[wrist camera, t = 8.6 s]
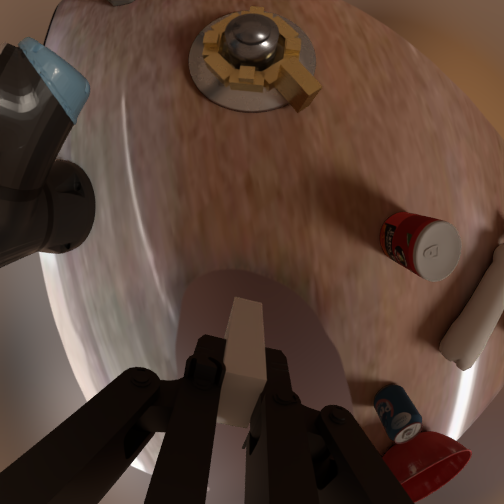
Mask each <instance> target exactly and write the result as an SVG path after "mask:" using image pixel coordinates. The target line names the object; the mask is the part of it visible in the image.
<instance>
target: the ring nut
mask: <svg viewBox="0 0 504 504" xmlns="http://www.w3.org/2000/svg"><path fill="white" fill-rule="evenodd" d="M250 13H254V14H261V15H264V16H267V17H269V18H270V19H272V20H273V21H274V22H275V23H276V25H277V26H278V29H279V38H278V43H279V44H280V45H281V46H282V47H283V56H282V60H280V61H278V62H277V63H275V64H273V65H272V66H270V67H269V68H267V69H265V70H264V71H262V72H261V71H255V67H251V66H240V70H239V69H234V68H233V67H232V66H231V65H230V64H229V63H228V62H227V61H226V60H225V59H224V58H223V57H222V50H223V45H224V42H226V38H225V29H226V26H227V25H228V23H229V22H230V21H231V20H232V19H234V18H236V17H237V16H240V15H239V14H238V13H237V12H235V13H233V14H232V15H230V16H228V17H226V18H224V19H223V20H221V21H219V22H218V23H216V24H214V25H213V26H211V29H212V30H208V31H207V32H205V35H204V39H203V45H204V49H203V54H202V56H203V58H204V62H205V64H206V67H207V68H208V69H209V70H210V72H211V73H212V74H213V75H214V76H215V77H216V78H217V79H218V80H219V81H220V82H221V83H222V84H223V85H224V86H225V87H227V86H229V85H230V89H231V90H239V91H250V92H260V93H263V87H265V88H266V90H267V91H270V90H271V89H273V88H276V89H277V90H278V91H279V92H280V93H281V94H282V95H283V97H284V98H285V99H286V100H287V101H288V102H289V103H290V105H291V106H292V107H293V108H294V109H295V111H296V112H297V113H299V112H300V111H302V110H303V109H305V108H306V107H308V106H309V105H310V104H311V102H312V101H313V99H314V98H315V97H316V95H317V94H318V92H319V91H320V90H321V88H322V86H321V85H320V83H319V82H318V81H317V80H316V79H315V78H314V77H313V76H312V74H311V73H310V72H309V71H308V70H307V69H306V68H305V67H304V66H303V65H302V64H301V63H300V62H299V55H300V50H301V38H298V36H299V34H298V33H297V32H296V31H295V30H294V29H293V28H292V27H291V26H290V25H288V24H287V23H286V22H285V21H284V20H283V19H282V18H280V17H279V16H276V17H274V18H273V13H264V7H255V6H251V7H250V11H242V12H241V15H243V14H250Z"/></svg>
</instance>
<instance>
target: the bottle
mask: <svg viewBox="0 0 504 504" xmlns="http://www.w3.org/2000/svg"><path fill="white" fill-rule="evenodd" d="M503 310H504V243H502V244H501V245H499V246H498V247H497V248H496V249H495V250H494V254H493V262H492V264H491V265H490V267H489V268H488V269H487V271H486V272H485V274H484V276H483V278H482V279H481V281H480V283H479V285H478V286H477V288H476V290H475V292H474V293H473V295H472V297H471V298H470V300H469V301H468V303H467V305H466V306H465V308H464V309H463V311H462V312H461V314H460V315H459V317H458V318H457V319H456V320H455V321H454V322H453V323H452V325H451V327H450V328H449V330H448V331H447V333H446V334H445V336H444V337H443V339H442V340H441V342H440V348H439V351H441V352H442V355H443V356H444V357H445V358H446V359H447V360H449V361H454V362H455V363H456V366H457V367H458V368H459V369H461V370H463V371H465V370H467V369H469V368H471V367H472V365H473V364H474V362H475V361H476V360H477V358H478V357H479V355H480V354H481V352H482V351H483V349H484V348H485V346H486V343H487V341H488V339H489V337H490V335H491V334H492V332H493V330H494V328H495V326H496V324H497V322H498V320H499V318H500V316H501V314H502V312H503Z"/></svg>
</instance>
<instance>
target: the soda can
mask: <svg viewBox="0 0 504 504" xmlns="http://www.w3.org/2000/svg"><path fill="white" fill-rule="evenodd" d="M374 408H375V410H376V412H377V414H378V416H379V418H380V420H381V422H382V424H383V426H384V428H385V430H386V432H387V434H388V436H389V438H390V439H391V440H393V441H395V443H397V444H403V443H406V442H408V441H410V440H412V439H413V438H415V437H416V436H417V435H418V434H419V433H420V432H421V430H422V428H423V425H422V417H421V415H420V414H419V412H418V411H417V409H416V407H415V406H414V404H413V403H412V401H411V400H410V398H409V396H408V395H407V393H406V392H405V390H404V389H403V388H402V387H401V386H398V385H388V386H385V387H384V388H382V389H381V390H380V391H379V392H378V393H377V394H376V396H375V400H374Z"/></svg>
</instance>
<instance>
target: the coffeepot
mask: <svg viewBox="0 0 504 504" xmlns="http://www.w3.org/2000/svg"><path fill="white" fill-rule="evenodd" d="M108 1H109V2H110V3H111V4H112V5H113V6H120V5H125V4H128V3H131V2H133V1H135V0H108Z"/></svg>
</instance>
